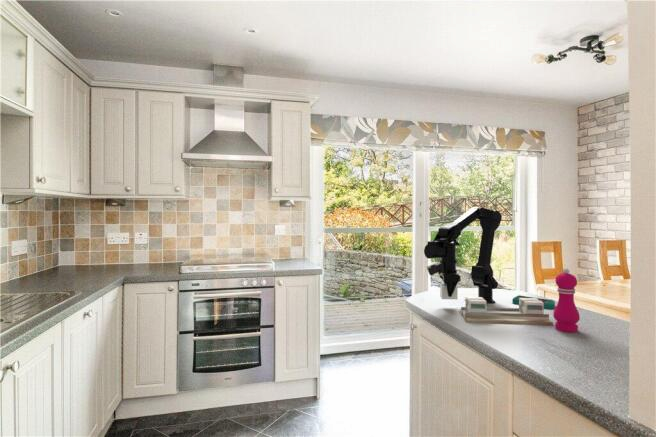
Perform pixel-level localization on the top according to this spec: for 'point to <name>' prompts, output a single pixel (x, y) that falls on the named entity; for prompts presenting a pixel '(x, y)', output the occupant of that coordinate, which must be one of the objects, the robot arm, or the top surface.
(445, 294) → the block
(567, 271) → the pepper mill
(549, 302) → the digital multimeter
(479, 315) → the rail panel
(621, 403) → the top surface
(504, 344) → the top surface
